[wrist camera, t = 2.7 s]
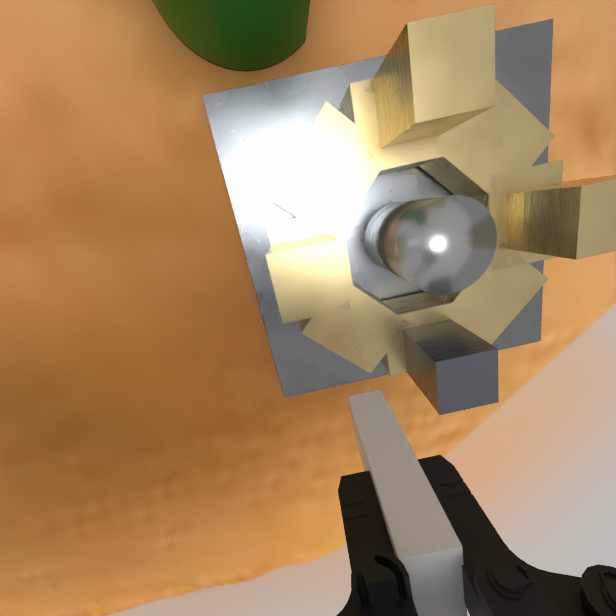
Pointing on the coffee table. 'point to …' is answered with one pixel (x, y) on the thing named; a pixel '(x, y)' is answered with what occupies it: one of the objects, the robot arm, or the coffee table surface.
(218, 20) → the motor
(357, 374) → the flange plate
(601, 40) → the coffee table surface
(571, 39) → the coffee table surface
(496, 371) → the ring nut
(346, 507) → the robot arm
